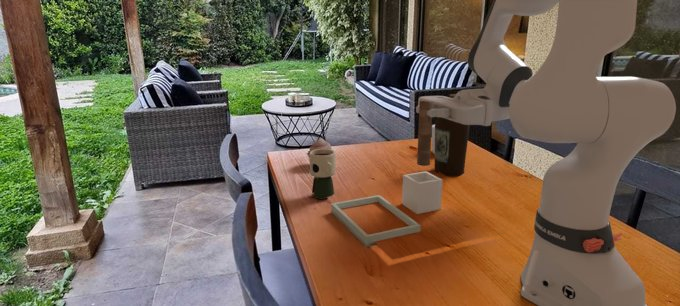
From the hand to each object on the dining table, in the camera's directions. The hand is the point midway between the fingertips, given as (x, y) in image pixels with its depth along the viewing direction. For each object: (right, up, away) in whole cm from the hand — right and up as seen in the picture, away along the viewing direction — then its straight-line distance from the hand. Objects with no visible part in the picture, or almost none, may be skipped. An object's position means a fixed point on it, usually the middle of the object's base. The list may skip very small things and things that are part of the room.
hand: (422, 111), depth 110 cm
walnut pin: (+1, -13, +4) cm, 14 cm away
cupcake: (-27, -15, +43) cm, 52 cm away
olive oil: (+15, -16, +37) cm, 43 cm away
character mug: (-25, -22, +17) cm, 38 cm away
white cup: (+17, -10, +57) cm, 60 cm away
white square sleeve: (+1, -25, +8) cm, 26 cm away
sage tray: (-12, -27, +1) cm, 30 cm away
